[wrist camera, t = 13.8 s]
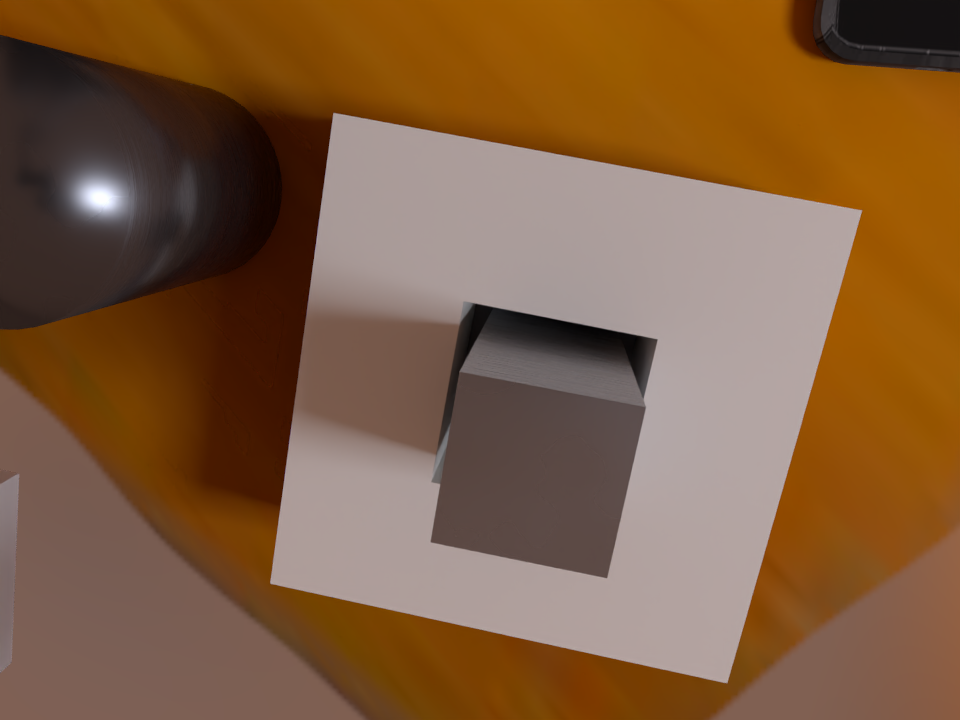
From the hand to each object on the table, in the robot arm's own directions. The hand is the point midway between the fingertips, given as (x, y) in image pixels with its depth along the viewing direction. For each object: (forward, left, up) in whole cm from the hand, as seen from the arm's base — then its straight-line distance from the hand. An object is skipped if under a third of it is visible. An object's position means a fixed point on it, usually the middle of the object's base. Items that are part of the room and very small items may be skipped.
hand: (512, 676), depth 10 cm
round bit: (-4, -13, -18) cm, 23 cm away
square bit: (0, 0, -18) cm, 18 cm away
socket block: (0, 0, -18) cm, 18 cm away
